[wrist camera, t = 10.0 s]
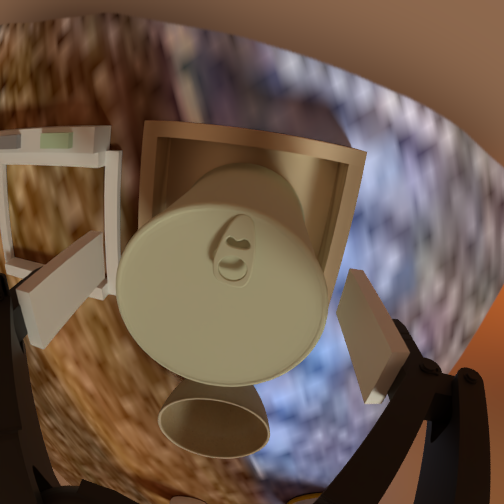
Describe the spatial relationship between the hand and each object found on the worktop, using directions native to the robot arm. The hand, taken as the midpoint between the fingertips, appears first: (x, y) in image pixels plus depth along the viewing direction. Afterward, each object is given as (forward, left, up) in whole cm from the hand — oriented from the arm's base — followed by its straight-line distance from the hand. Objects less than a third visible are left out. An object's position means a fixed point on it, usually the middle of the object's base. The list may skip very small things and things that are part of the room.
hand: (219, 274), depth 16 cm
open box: (0, 0, -9) cm, 9 cm away
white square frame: (-18, -2, -9) cm, 20 cm away
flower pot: (0, -17, -9) cm, 19 cm away
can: (0, 0, -8) cm, 8 cm away
